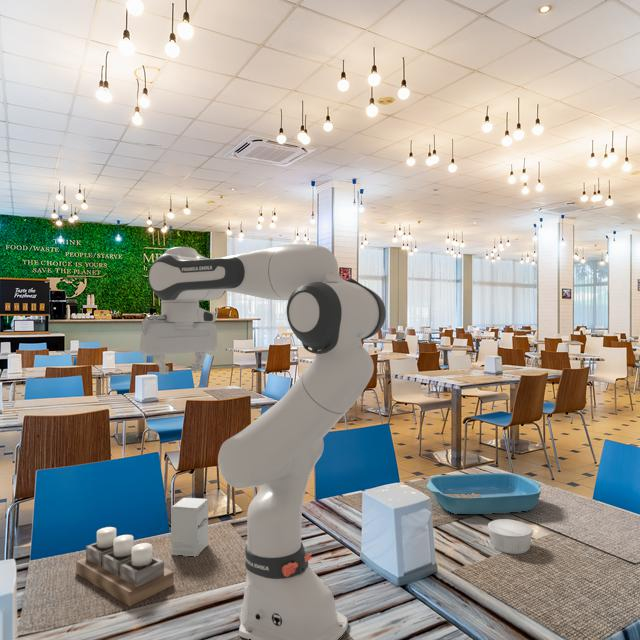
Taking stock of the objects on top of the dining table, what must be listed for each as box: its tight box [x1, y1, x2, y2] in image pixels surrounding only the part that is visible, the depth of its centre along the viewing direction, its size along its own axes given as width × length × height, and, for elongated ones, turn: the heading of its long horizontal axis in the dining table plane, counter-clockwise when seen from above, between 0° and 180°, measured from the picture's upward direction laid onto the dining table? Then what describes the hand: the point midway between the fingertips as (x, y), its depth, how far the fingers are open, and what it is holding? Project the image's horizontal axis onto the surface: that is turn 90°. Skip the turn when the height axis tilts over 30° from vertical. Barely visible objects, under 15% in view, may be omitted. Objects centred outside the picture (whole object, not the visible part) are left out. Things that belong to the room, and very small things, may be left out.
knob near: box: [131, 542, 153, 566], centre depth 115 cm, size 4×4×3 cm
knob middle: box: [113, 534, 135, 557], centre depth 120 cm, size 4×4×3 cm
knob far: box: [96, 526, 117, 548], centre depth 124 cm, size 4×4×3 cm
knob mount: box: [75, 541, 175, 607], centre depth 120 cm, size 23×11×6 cm, turn 52°
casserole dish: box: [426, 472, 542, 515], centre depth 166 cm, size 37×22×7 cm, turn 96°
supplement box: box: [170, 497, 209, 558], centre depth 135 cm, size 7×7×13 cm
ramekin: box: [487, 518, 534, 555], centre depth 136 cm, size 11×11×5 cm
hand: (180, 372), depth 124 cm, fingers open, 8 cm apart
